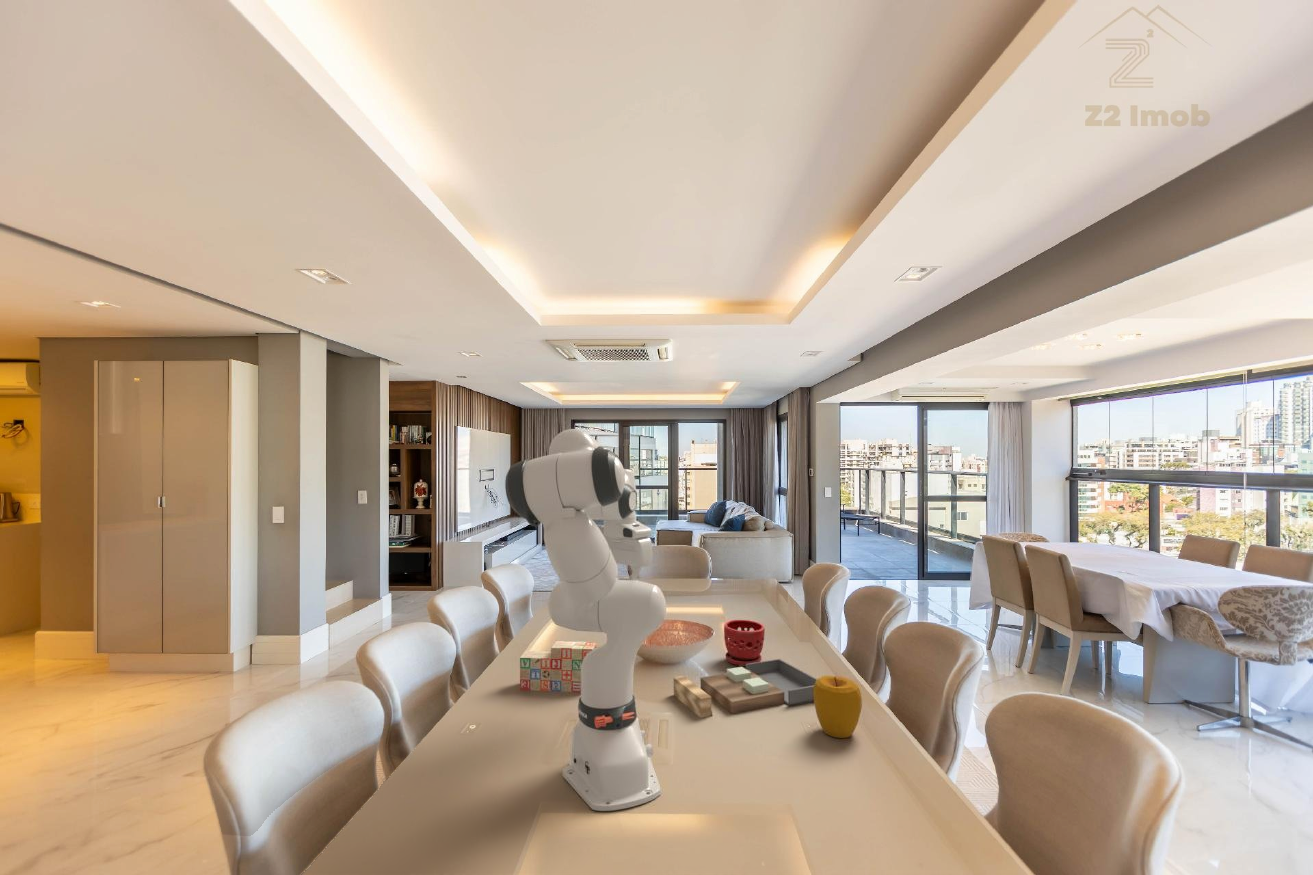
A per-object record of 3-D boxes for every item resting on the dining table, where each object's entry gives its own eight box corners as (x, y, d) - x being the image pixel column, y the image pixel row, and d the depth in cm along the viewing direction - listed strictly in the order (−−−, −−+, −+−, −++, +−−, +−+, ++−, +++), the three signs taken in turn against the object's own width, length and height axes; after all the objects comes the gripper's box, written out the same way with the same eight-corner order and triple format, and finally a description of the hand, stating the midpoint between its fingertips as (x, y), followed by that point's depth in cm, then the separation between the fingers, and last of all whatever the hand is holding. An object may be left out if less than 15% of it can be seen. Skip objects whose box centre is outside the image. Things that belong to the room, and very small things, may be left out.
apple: (860, 725, 135) (859, 671, 136) (864, 746, 124) (863, 688, 125) (813, 720, 138) (812, 667, 138) (814, 740, 127) (812, 683, 128)
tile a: (768, 691, 148) (768, 683, 148) (752, 694, 146) (752, 686, 146) (758, 684, 153) (758, 677, 153) (743, 687, 151) (742, 679, 151)
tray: (826, 698, 150) (826, 683, 151) (789, 706, 146) (789, 690, 146) (779, 671, 171) (779, 658, 171) (746, 677, 166) (745, 663, 166)
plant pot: (722, 667, 175) (721, 628, 176) (726, 653, 188) (726, 618, 188) (764, 670, 172) (763, 631, 173) (766, 656, 185) (765, 620, 185)
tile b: (751, 679, 157) (750, 672, 157) (735, 682, 155) (735, 674, 155) (741, 673, 161) (741, 666, 161) (726, 676, 159) (726, 669, 159)
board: (784, 703, 148) (784, 691, 148) (732, 713, 142) (731, 701, 142) (748, 679, 164) (748, 669, 164) (700, 688, 158) (700, 677, 158)
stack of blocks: (519, 690, 158) (519, 646, 159) (526, 682, 164) (526, 639, 165) (592, 693, 156) (592, 648, 157) (597, 684, 162) (597, 641, 163)
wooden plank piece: (712, 716, 141) (712, 696, 141) (701, 719, 139) (700, 698, 140) (684, 693, 155) (683, 675, 155) (673, 695, 154) (673, 677, 154)
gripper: (585, 526, 153) (585, 576, 153) (639, 532, 140) (640, 587, 140) (601, 523, 158) (601, 572, 158) (656, 529, 145) (656, 583, 145)
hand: (620, 579), depth 149 cm, fingers open, 8 cm apart
